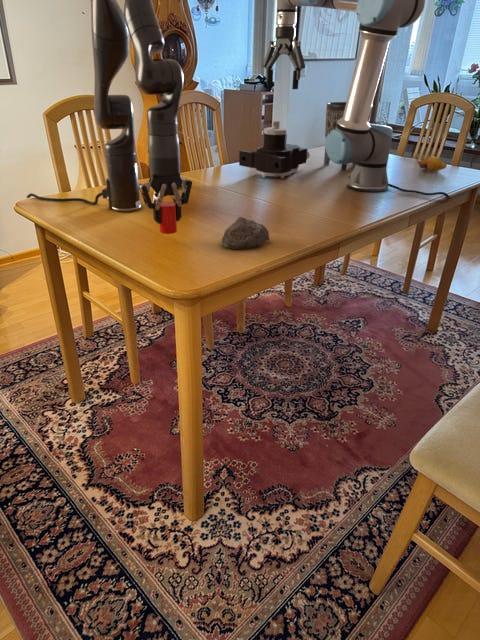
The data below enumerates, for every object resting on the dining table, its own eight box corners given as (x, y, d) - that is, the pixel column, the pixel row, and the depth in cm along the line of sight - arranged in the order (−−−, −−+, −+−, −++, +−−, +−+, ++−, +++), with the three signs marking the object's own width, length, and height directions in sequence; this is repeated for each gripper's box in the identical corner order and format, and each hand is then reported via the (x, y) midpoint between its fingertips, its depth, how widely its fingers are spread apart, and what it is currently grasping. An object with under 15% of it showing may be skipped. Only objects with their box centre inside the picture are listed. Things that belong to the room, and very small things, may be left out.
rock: (255, 233, 128) (256, 211, 124) (276, 242, 122) (278, 219, 119) (217, 244, 120) (217, 220, 117) (239, 254, 115) (239, 230, 111)
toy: (420, 164, 201) (414, 157, 214) (422, 178, 204) (416, 170, 217) (447, 156, 198) (439, 149, 211) (449, 170, 201) (441, 162, 213)
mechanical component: (240, 120, 182) (283, 115, 202) (239, 174, 192) (280, 164, 212) (283, 126, 170) (325, 120, 190) (280, 183, 180) (320, 171, 200)
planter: (313, 167, 208) (319, 103, 195) (331, 160, 222) (338, 101, 209) (353, 173, 199) (362, 107, 185) (369, 166, 213) (379, 104, 199)
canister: (157, 233, 119) (155, 205, 115) (163, 227, 122) (161, 200, 119) (173, 234, 118) (172, 207, 114) (179, 229, 122) (178, 202, 118)
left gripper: (141, 159, 104) (147, 230, 113) (197, 154, 110) (198, 221, 119) (130, 153, 109) (136, 221, 118) (184, 148, 116) (186, 213, 125)
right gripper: (255, 26, 179) (253, 86, 190) (305, 24, 164) (300, 90, 175) (267, 27, 184) (265, 86, 194) (317, 26, 169) (312, 89, 179)
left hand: (168, 221), depth 119 cm, fingers closed on canister, 4 cm apart
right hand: (282, 88), depth 185 cm, fingers open, 13 cm apart
